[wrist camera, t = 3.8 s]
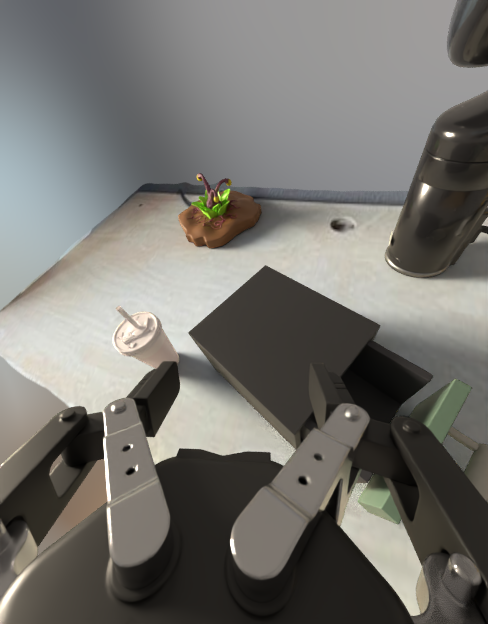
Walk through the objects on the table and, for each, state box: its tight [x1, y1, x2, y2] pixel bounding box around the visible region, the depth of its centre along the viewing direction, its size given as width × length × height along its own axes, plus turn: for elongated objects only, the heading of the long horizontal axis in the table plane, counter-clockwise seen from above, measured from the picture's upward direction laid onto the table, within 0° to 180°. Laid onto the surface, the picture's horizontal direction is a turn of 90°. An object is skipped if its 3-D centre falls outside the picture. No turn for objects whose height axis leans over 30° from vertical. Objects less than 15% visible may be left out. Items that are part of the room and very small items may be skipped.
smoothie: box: [113, 306, 179, 369], centre depth 33 cm, size 6×6×14 cm
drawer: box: [300, 340, 488, 524], centre depth 24 cm, size 19×12×9 cm, turn 45°
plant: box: [178, 173, 262, 248], centre depth 56 cm, size 20×20×11 cm
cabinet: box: [189, 265, 380, 450], centre depth 30 cm, size 16×14×11 cm
